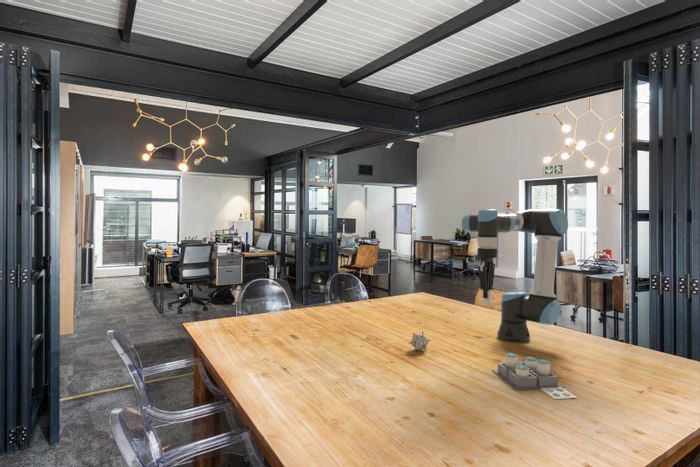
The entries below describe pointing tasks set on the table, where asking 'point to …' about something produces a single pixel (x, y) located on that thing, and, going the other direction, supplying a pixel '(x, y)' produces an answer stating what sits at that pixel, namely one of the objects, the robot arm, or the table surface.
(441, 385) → the table surface
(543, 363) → the button
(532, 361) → the button
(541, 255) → the robot arm
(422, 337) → the game die
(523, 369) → the button
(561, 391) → the card
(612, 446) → the table surface
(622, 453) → the table surface
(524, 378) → the board
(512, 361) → the button
